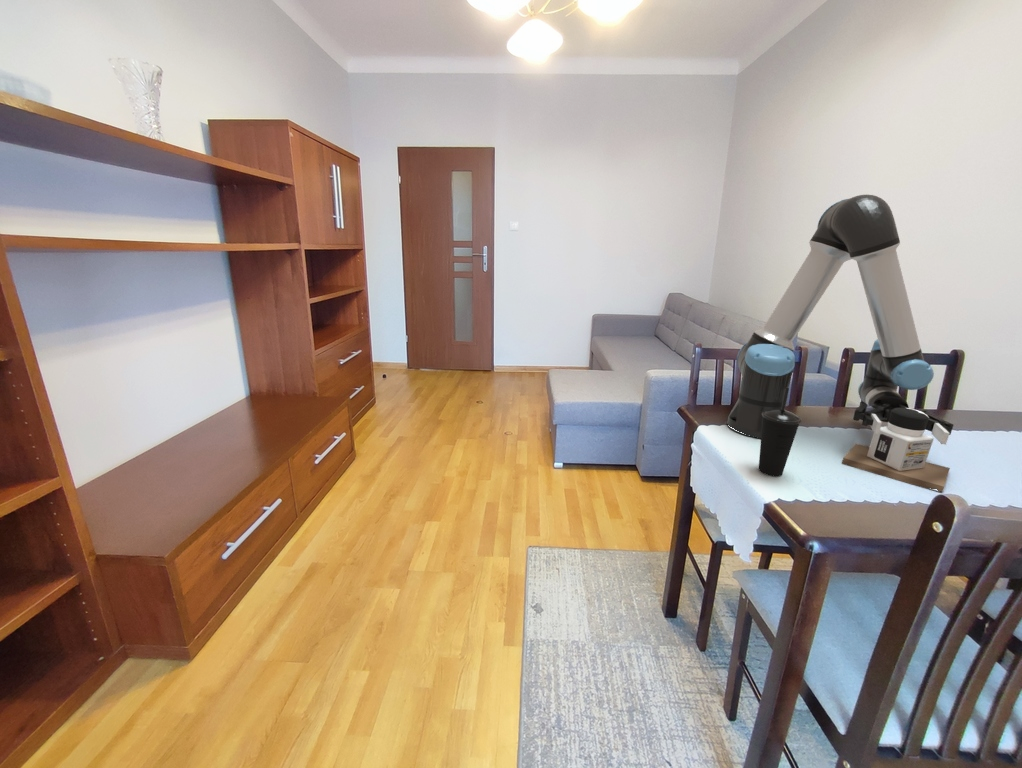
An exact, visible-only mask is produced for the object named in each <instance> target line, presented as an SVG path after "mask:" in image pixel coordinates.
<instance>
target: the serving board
mask: <svg viewBox="0 0 1022 768" xmlns="http://www.w3.org/2000/svg"><path fill="white" fill-rule="evenodd" d="M869 448H870V446H868V445H863V444H859V443H855V444H854V445H853V446H852V447H851V448H850V449H849V450H848V452H847V453H846V454H845V455H844V456H843V457H842V460H841V464H842V465H846V466H848V467H852V468H857V469H859V470H862V471H866V472H868V473H869V472H870V473H873V474H876V475H879V476H883V477H886V478H890V479H893V480H896V481H900V482H903V483H906V484H911V485H914V486H916V487H920V486H921V487H920V488H923V487H925V488H924V489H927V488H931V489H937V490H938V491H942V492H939V493H940V494H942V493H943V492H944V491H943V490H944V488H945V484H946V481H947V478H948V475H949V472H950V469H951V468H950V467H946V466H943V465H941V464H936V463H932V462H928V461H926V463H925V466H924V468H919V469H911V470H903V471H898V470H896V469H894V468H892V467H889V466H887V465H885V464H883V463H881V462H878V461H876V460H874V459H872V458H869V457H868V456H867V454H868V451H869Z"/></svg>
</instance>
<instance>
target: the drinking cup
mask: <svg viewBox="0 0 1022 768" xmlns="http://www.w3.org/2000/svg"><path fill="white" fill-rule="evenodd" d="M789 391H790V387H789V388H786V389H785V393H784V398H783V403H782V408H781V409H772V410H766V411H763V412H762V416H763V422H762V434H761V439H760V446H759V447H760V448H759V456H758V457H759V459H758V471H759V472H760V473H761V474H763V475H767V476H768V477H769V476H770V477H775V478H776V477H781V476H782V475H783V474H784V470H785V467H786V464H787V461H788V458H789V455H790V452H791V450H792V447H793V443H794V440H795V438H796V436H797V431H798V429H799V426H800V424H801V423H802V418H801V417H800V416H799V415H797V414H795V413H794V412H791V411H789V410H786V407H787V406H786V405H787V400H788V396H789Z"/></svg>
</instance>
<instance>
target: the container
mask: <svg viewBox="0 0 1022 768" xmlns="http://www.w3.org/2000/svg"><path fill="white" fill-rule="evenodd" d="M928 419H929V417H928V416H927V415H926V414H925V413H923V412H922V410H917V409H914V408H910V407H909V408H894V409H893V410H892V411H891V414H890V417H889V421H888V422H887V426H881V428H880V432H879V434H876V433H874V432H873V434H872V437H871V442H870V445H869V447H870V448H869V451H868V454H867V456H868V457H869V458H872V459H874V460H876V461H878V462H881V463H883V464H885V465H887V466H889V467H892V468H894V469H896V470H898V471H903V470H911V469H919V468H924V466H925V463H926V462H927V459H928V457H929V454H930V451H931V447H932V445H933V442H934V436H931V435H928V434H925V432H926V429H925V428H926V425H927V422H928Z"/></svg>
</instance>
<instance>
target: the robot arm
mask: <svg viewBox="0 0 1022 768" xmlns="http://www.w3.org/2000/svg"><path fill="white" fill-rule="evenodd" d="M816 228H817V229H816V230H815V232H814V233H813V235H812V237H811V239H810V240H809V242H808V243H809V246H810V251H809V254H808V255H807V257H806V258H805V259H804V261H803V263H802V264H801V266H800V268H799V269H798V271H797V273H796V274H795V275H794V278H793V279H792V280H791V282H790V284H789V285H788V287H787V289H786V290H785V292H784V294H783V295H782V297H781V298H780V300H779V301H778V303H777V304H776V306H775V308H774V310H773V312H772V313H771V314H770V317H768V319H767V321H766V322H765V324H764V326H763V327H762V328H760V329H757V330H754V331H753V333H752V335H751V336H750V338H749V340H748V341H747V342H746V343H744V344H743V345H742V347H741V348H740V349H739V350H738V353H737V355H736V365H737V368H738V371H740V374H741V380H740V386H739V393H738V398H737V400H736V403H735V404H734V406H733V407H732V409H731V411H730V413H729V415H728V417H727V422H726V425H727V424H728V425H729V426H730V427H732V428H734V429H735V430H737V431H739V432H742V433H744V434H746V435H750V436H754V437H758V438H757V439H760V438H761V434H762V422H763V416H762V412H763V411H766V410H772V409H781V408H782V403H783V398H784V393H785V389H786V388H789V389H790V386H791V381H792V376H793V371H794V369H795V366H796V365H795V363H796V361H795V360H796V355H795V354H794V350H795V347H794V343H793V341H794V339H795V338H796V337H797V335H798V334H799V332H800V330H801V328H802V327H803V326H804V324H805V323H806V321H807V320H808V318H809V317H810V315H811V313H812V312H813V311H814V309H815V308H816V306H817V305H818V303H819V301H820V300H821V298H822V296H823V295H824V294H825V293H826V290H827V289H828V287H829V286H830V285H831V283H832V281H833V280H834V279H835V277H836V275H837V273H838V272H839V271H840V270H841V267H843V264H844V263H845V262H847V261H848V262H849V261H850V260H853V261H855V262H856V263H857V267H858V271H859V275H860V278H861V282H862V285H863V289H864V293H865V296H866V301H867V304H868V305H867V306H868V307H869V311H870V315H871V318H872V322H873V325H874V330H875V332H876V337H877V339H876V340H874V341H873V344H872V347H871V350H870V355H869V359H868V363H867V367H866V368H867V369H866V372H865V376H864V379H863V381H862V382H861V383H860V385H859V386H858V390H857V391H858V395H859V398H860V400H861V401H860V402H859V405H858V407H857V408H856V409H854V414H853V418H852V420H853V421H856V422H859V421H860V420H861V426H864V427H867V426H869V427H870V428H871V430H872V432H873V434H874V433H876V434H879V432H880V428H881V427H882V425H883V423H888V421H889V417H890V414H891V411H892V410H893V409H894V408H910V407H909V403H908V402H907V400H906V399H905V398H903V397H902V396H901V395H900V393H899V392H897V391H898V387H899V388H902V389H905V390H908V391H915V390H920V389H923V388H925V387H927V386H928V385H929V384H930V383H931V382H932V381H933V379H934V374H935V373H934V369H933V367H932V366H931V365H930V364H929V363H928V362H927V361H926V360H925V358H924V355H923V351H922V349H921V345H920V340H919V337H918V333H917V328H916V324H915V321H914V316H913V313H912V308H911V303H910V301H909V296H908V293H907V289H906V284H905V280H904V277H903V272H902V268H901V266H900V265H901V264H900V260H899V257H898V256H899V255H898V252H897V248H898V247H899V246H900V245H901V240H900V237H899V232H898V228H897V224H896V221H895V216H894V214H893V211H892V210H891V207H890V205H889V203H887V202H886V201H885V200H884V199H883V198H881V197H879V196H877V195H874V194H860V195H856V196H853V197H850V198H845V199H841V200H839V201H838V202H835V203H833V204H832V205H830V206H829V207H828V208H826V209H825V211H824V212H823V213H822V214H821V216H820V218H819V220H818V223H817V227H816ZM921 412H923V413H925V414H926V415H927V416H928V417H929V419H928V422H927V425H926V428H925V431H926V430H927V431H928V432H931V435H932V437H933V438H934V439H936V441H937V442H939V443H940V445H946V446H947V443H948V439H949V436H951V434H952V431H953V428H954V424H953V423H951V422H948V421H946V420H944V419H942V418H940V417H938V416H936V415H933V414H931V413H930V411H927V410H921ZM746 435H745V436H746ZM750 436H749V437H750ZM754 437H753V438H754Z"/></svg>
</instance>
